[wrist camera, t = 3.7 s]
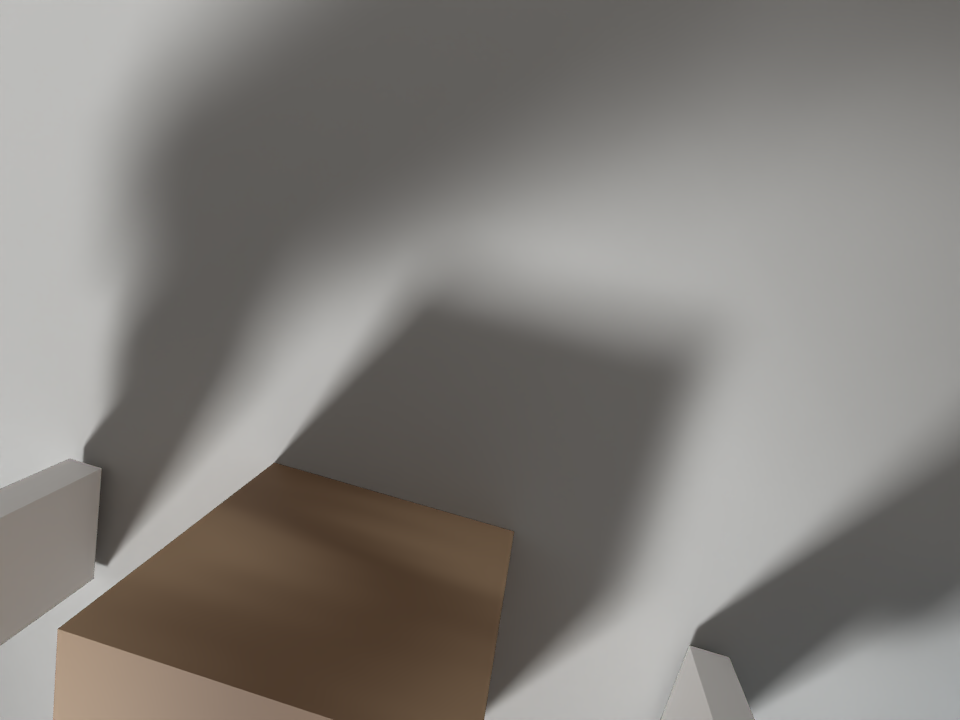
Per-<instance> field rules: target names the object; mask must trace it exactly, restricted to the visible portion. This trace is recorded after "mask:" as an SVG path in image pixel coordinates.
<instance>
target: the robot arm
mask: <svg viewBox="0 0 960 720" xmlns="http://www.w3.org/2000/svg"><path fill="white" fill-rule="evenodd" d="M101 472H102V468H99V467H96V466H93V465H89V464H86V463H83V462H79V461H76V460H73V459H67V460H65V461H63V462H60V463H58V464H56V465H54V466H51V467H49V468H47V469H44V470H42V471H40V472H38V473H35V474H33V475H31V476H28V477H26V478H24V479H22V480H19V481H17V482H15V483H12V484H10V485H8V486H6V487H3V488H1V489H0V645H2V644H3V643H5V642H6V641H7V640H9V639H10V638H12V637H13V636H14V635H16V634H17V633H18V632H20V631H21V630H23V629H24V628H25V627H27V626H28V625H30V624H31V623H32V622H34V621H35V620H37V619H38V618H39V617H41V616H42V615H44V614H45V613H46V612H48V611H49V610H51V609H52V608H53V607H55V606H56V605H58V604H59V603H60V602H62V601H63V600H65V599H66V598H67V597H69V596H70V595H71V594H73V593H74V592H76V591H77V590H78V589H80V588H81V587H83V586H84V585H85V584H87V583H88V582H90V581H91V580H92V579H94V568H95V554H96V540H97V527H98V513H99V499H100V485H101ZM661 720H755V719H754V717H753V714H752V712H751V710H750V707H749V705H748V702H747V700H746V697H745V695H744V692H743V690H742V687H741V685H740V682H739V680H738V678H737V675H736V673H735V670H734V668H733V665H732V663H731V660H730V658H729V657H726V656H723V655H720V654H716V653H713V652H710V651H707V650H703V649H700V648H697V647H693V646H690V645H689V648H688V650H687V653H686V655H685V658H684V661H683V663H682V666H681V668H680V671H679V674H678V676H677V679H676V681H675V684H674V686H673V689H672V692H671V694H670V697H669V699H668V702H667V705H666V707H665V710H664V712H663V715H662V718H661Z"/></svg>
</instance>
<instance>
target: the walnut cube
mask: <svg viewBox="0 0 960 720" xmlns="http://www.w3.org/2000/svg"><path fill="white" fill-rule="evenodd" d="M513 536H514V531H510V530H507V529H503V528H500V527H497V526H493V525H490V524H486V523H483V522H479V521H476V520H472V519H469V518H465V517H462V516H458V515H455V514H451V513H448V512H444V511H441V510H437V509H434V508H430V507H427V506H423V505H420V504H417V503H413V502H410V501H406V500H403V499H399V498H396V497H392V496H389V495H385V494H382V493H378V492H375V491H371V490H368V489H364V488H361V487H357V486H354V485H350V484H347V483H343V482H340V481H337V480H333V479H330V478H326V477H323V476H319V475H316V474H312V473H309V472H305V471H302V470H298V469H295V468H291V467H288V466H284V465H281V464H277V463H273V464H272V465H271V466H269V467H268V468H267V469H265V470H264V471H263V472H262V473H260V474H259V475H258V476H256V477H255V478H254V479H252V480H251V481H250V482H249V483H247V484H246V485H245V486H243V487H242V488H241V489H239V490H238V491H237V492H236V493H234V494H233V495H232V496H230V497H229V498H228V499H226V500H225V501H224V502H223V503H221V504H220V505H219V506H217V507H216V508H215V509H213V510H212V511H211V512H209V513H208V514H207V515H206V516H204V517H203V518H202V519H200V520H199V521H198V522H196V523H195V524H194V525H193V526H191V527H190V528H189V529H187V530H186V531H185V532H183V533H182V534H181V535H180V536H178V537H177V538H176V539H174V540H173V541H172V542H170V543H169V544H168V545H167V546H165V547H164V548H163V549H161V550H160V551H159V552H157V553H156V554H155V555H153V556H152V557H151V558H150V559H148V560H147V561H146V562H144V563H143V564H142V565H140V566H139V567H138V568H137V569H135V570H134V571H133V572H131V573H130V574H129V575H127V576H126V577H125V578H124V579H122V580H121V581H120V582H118V583H117V584H116V585H114V586H113V587H112V588H111V589H109V590H108V591H107V592H105V593H104V594H103V595H101V596H100V597H99V598H97V599H96V600H95V601H94V602H92V603H91V604H90V605H88V606H87V607H86V608H84V609H83V610H82V611H81V612H79V613H78V614H77V615H75V616H74V617H73V618H71V619H70V620H69V621H68V622H66V623H65V624H64V625H62V626H61V627H60V628H58V634H57V653H56V672H55V692H54V711H53V720H484V716H485V710H486V704H487V698H488V691H489V685H490V679H491V673H492V667H493V660H494V654H495V648H496V642H497V635H498V629H499V623H500V617H501V610H502V604H503V598H504V592H505V585H506V579H507V573H508V567H509V561H510V554H511V548H512V542H513Z"/></svg>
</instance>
